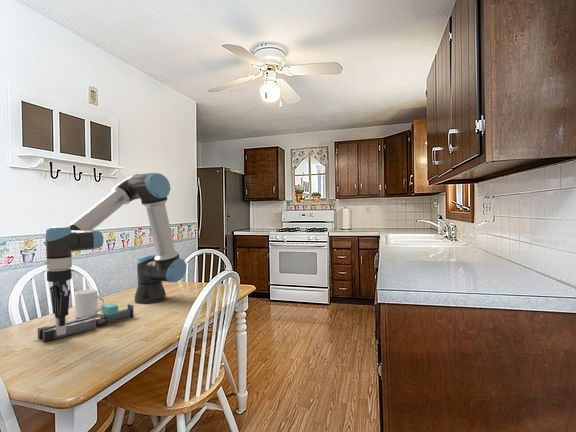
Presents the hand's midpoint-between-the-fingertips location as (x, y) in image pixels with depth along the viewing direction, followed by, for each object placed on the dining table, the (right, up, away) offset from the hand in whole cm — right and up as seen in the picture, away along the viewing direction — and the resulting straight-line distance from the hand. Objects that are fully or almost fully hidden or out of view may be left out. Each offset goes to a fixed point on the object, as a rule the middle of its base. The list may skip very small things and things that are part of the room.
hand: (61, 334), depth 124 cm
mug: (-5, -1, +27) cm, 28 cm away
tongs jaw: (+1, -1, +4) cm, 4 cm away
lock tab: (+9, +3, +18) cm, 20 cm away
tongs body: (+4, -1, +12) cm, 13 cm away
